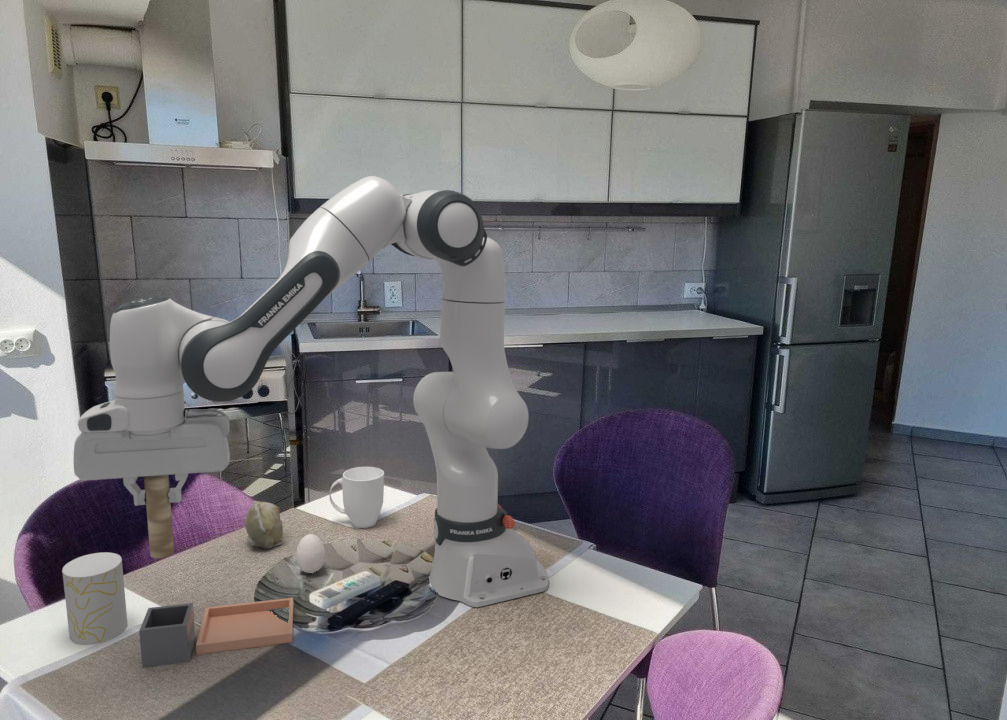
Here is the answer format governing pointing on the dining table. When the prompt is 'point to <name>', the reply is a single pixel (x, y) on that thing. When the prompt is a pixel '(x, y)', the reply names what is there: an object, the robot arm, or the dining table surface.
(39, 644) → the dining table surface
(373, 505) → the mug
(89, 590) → the grey patterned cylinder
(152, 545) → the dowel
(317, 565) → the egg
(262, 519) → the olive grey rounded lump
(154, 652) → the holder
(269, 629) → the tray
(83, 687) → the dining table surface
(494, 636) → the dining table surface
